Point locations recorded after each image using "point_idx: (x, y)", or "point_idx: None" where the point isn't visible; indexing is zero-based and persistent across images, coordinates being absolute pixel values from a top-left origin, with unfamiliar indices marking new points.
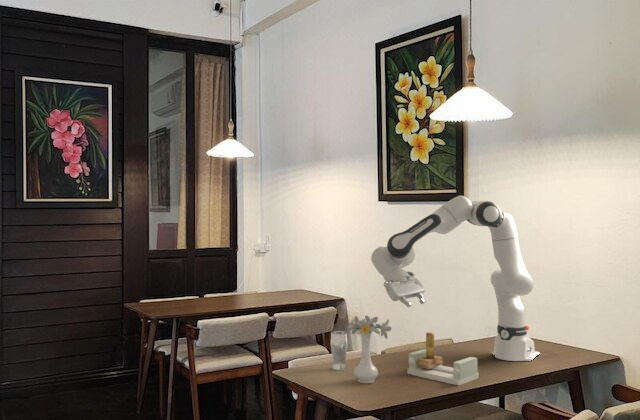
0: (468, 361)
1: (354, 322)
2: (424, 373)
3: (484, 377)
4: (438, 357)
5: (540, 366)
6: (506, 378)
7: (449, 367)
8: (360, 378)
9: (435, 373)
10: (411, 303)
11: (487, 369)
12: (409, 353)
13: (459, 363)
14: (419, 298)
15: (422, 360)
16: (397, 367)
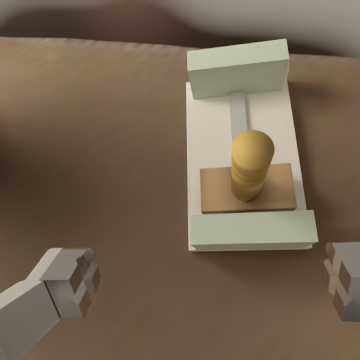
0: (238, 45)
1: None
2: (301, 177)
3: (172, 86)
4: (216, 173)
5: (5, 68)
6: (145, 55)
7: (192, 163)
8: None
9: (282, 149)
10: (334, 249)
11: (99, 124)
12: (315, 238)
13: (286, 41)
14: (19, 351)
15: (293, 187)
16: (269, 333)
